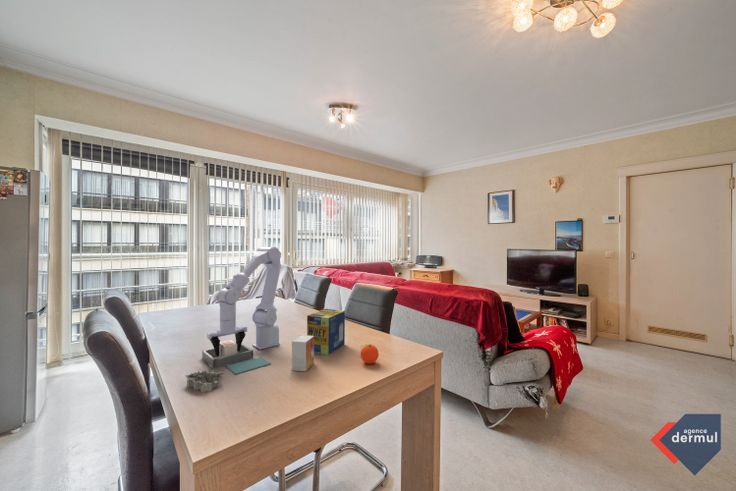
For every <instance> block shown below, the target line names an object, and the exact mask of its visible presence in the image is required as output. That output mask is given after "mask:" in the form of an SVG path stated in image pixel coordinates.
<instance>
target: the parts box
mask: <svg viewBox="0 0 736 491" xmlns="http://www.w3.org/2000/svg"><path fill="white" fill-rule="evenodd" d="M234 354H238V351H237V344H236V341H235V342H234V341H233V340H232V339H229V340H225V341H220V345H219V356H218V358H222V357H226V356H230V355H234Z"/></svg>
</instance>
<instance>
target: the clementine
mask: <svg viewBox="0 0 736 491" xmlns="http://www.w3.org/2000/svg"><path fill="white" fill-rule="evenodd" d="M360 348H361V350H360V358H361V360H362V361H363V362H364V363H365V364H369V365H370V364H371V365H372V364H374V363H376V362H377V360H378V359H379V350H378V348H377V347H376V345H374V344H369V343H365V344H363V345H361V346H360Z"/></svg>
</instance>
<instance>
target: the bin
mask: <svg viewBox="0 0 736 491" xmlns="http://www.w3.org/2000/svg"><path fill="white" fill-rule="evenodd" d="M201 352H202V353H201V354H202V356H201V357H202V359H203V360H204V362H206V363H207V364H208V365H209V366H210V367H211V368H212V369H213V370H214V369H217V368H220V367H224V366H225V367H226V366H228V365H231V364H235V363H239V362H243V361H246V360H250V359H254V350H253V349H252V348H250V347H248V346H247V345H245V343H243V342H242V343H241V347H240V351H239V352H237V354H234V355H230V356H226V357H222V358H219V357H217V356H216V354H215V350H214V347H212V348H208V349H203V350H202V351H201ZM215 357H217V358H215Z"/></svg>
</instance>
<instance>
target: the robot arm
mask: <svg viewBox="0 0 736 491" xmlns="http://www.w3.org/2000/svg"><path fill="white" fill-rule="evenodd" d="M281 258H282V252H281V251H280V249H279V248H278V247H275V246H270V247H269V246H260V247H258V248H257V249H256V251H254V252H253V255H252V257H251V259H250V260H249V262H248V263H247V264H246V266H245V267H244V269H243V270H242V271H241V272H239V273H238V272H237V273H236V274H234V275H232V279H231V280H230V281H229V282H228V284H226V285H225V288H223V289H220V290H219V292H218V293H217V295H216V300H217V302H219V329H218V330H215V331H211V332H208V333H206V338H207V340H209V341H210V342H211V344H212V346H213V347H212V348H214V350H215V354H216V356H215V357H217V358H219V345H220V342H221V339H220V338H221V337H225V336H230V335H234V336H235V343H236V344H237V353H240V352H241V351H240V347H241V343H242V344H243V341H244V339H245V337H246V332H248V327H247V326H246V325H245V326H238V327H237V320H236V319H237V302H238V301H239V300H240V296H241V292H242V291H243V289H244V288H245V287H246V285H247V284H248V283H249V282H250V281H249V278H250V276H251V275H252V274H254V272H255V271H256V270H257V269H258V267H260V265H263V264H264V265H265V267H266V268H267V271H266V276H265V280H264V286H263V289H262V295H261V300H260V303H259V304H258V305H256V306H255V310H254V312H253V314H252V319H251V320H252V321H253V323H254V324H255V325H254V326H255V343H252V344H251V345H252V346H253V347H255V348H256V349H258V350H263V349H268V348H271V347H275V346H280V327H279V325H278V324H277V323H276V322H277V308H276V306H275V305H274V302H275V298H276V294H277V293H276V292H277V288H278V282H279V277H280V271H281V266H282V264H281Z"/></svg>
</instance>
